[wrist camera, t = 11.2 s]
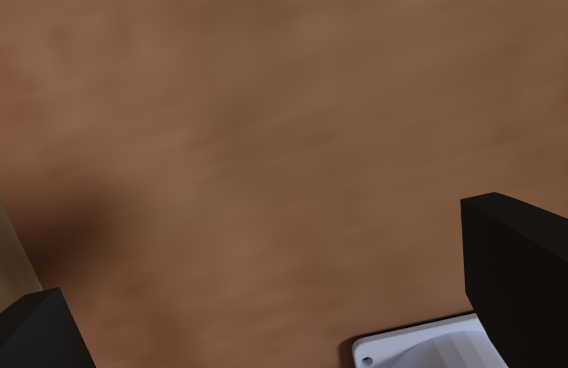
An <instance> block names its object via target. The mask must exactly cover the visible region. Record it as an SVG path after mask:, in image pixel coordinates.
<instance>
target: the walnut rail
mask: <svg viewBox="0 0 568 368" xmlns="http://www.w3.org/2000/svg"><path fill="white" fill-rule="evenodd" d="M39 291H44V290H43V288H42V286H41V284H40V282H39V280H38V278H37V276H36V274H35V272H34V269H33V267H32V265H31V263H30V261H29V259H28V257H27V255H26V253H25V251H24V249H23V246H22V244H21V242H20V240H19V238H18V236H17V234H16V232H15V230H14V228H13V226H12V224H11V221H10V219H9V217H8V215H7V213H6V211H5V209H4V207H3V205H2V203H1V201H0V313H1V312H2V311H4V310H5V309H6V308H7V307H9V306H10V305H11V304H12V303H14V302H15V301H17V300H18V299H19V298H21V297H22V296H24V295H25V294H30V293H35V292H39Z"/></svg>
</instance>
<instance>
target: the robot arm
mask: <svg viewBox="0 0 568 368" xmlns="http://www.w3.org/2000/svg"><path fill="white" fill-rule="evenodd" d="M460 203H461V221H462V239H463V257H464V275H465V293H466V295H467V297H468V299H469V301H470V303H471V305H472V307H473V309H474V311H475V313H474V314H469V315H464V316H460V317H455V318H451V319H446V320H442V321H437V322H433V323H428V324H424V325H419V326H414V327H410V328H405V329H401V330H396V331H392V332H387V333H383V334H378V335H374V336H369V337H364V338H361V339H358V340H357V341H356V342H354V344H353V346H352V353H353V358H354V364H355V368H568V219H567V218H564V217H562V216H559V215H557V214H554V213H551V212H549V211H546V210H544V209H541V208H539V207H536V206H533V205H531V204H528V203H526V202H523V201H520V200H518V199H515V198H512V197H509V196H506V195H503V194H500V193H496V192H492V193H487V194H483V195H478V196H474V197H469V198H465V199H460ZM366 357H370V358H369V359H367V360H362V359H363V358H366ZM0 368H96V366H95V364H94V362H93V360H92V358H91V355H90V353H89V351H88V349H87V347H86V345H85V342H84V340H83V338H82V336H81V334H80V332H79V329H78V327H77V325H76V323H75V321H74V319H73V316H72V314H71V312H70V310H69V308H68V306H67V303H66V301H65V299H64V297H63V295H62V293H61V290H60V288H59V287H57V288H53V289H48V290H44V291H39V292H35V293H30V294H25V295H24V296H22V297H21V298H19V299H18V300H17V301H15V302H14V303H12V304H11V305H10V306H9V307H7V308H6V309H5V310H4V311H2V312H1V313H0Z"/></svg>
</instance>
